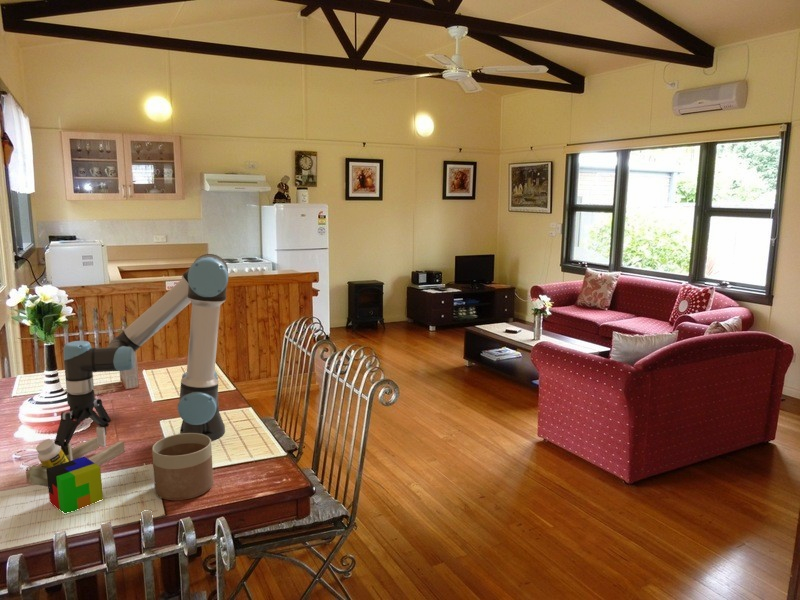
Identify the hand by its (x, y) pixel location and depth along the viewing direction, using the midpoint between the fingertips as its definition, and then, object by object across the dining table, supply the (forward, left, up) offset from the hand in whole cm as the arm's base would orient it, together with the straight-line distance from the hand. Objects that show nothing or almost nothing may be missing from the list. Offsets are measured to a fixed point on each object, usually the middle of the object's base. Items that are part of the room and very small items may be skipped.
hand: (85, 454), depth 188 cm
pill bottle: (0, +10, -1) cm, 10 cm away
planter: (-41, +6, -2) cm, 41 cm away
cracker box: (+40, -66, -2) cm, 78 cm away
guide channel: (-1, +4, -2) cm, 4 cm away
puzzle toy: (-17, +21, -2) cm, 27 cm away
